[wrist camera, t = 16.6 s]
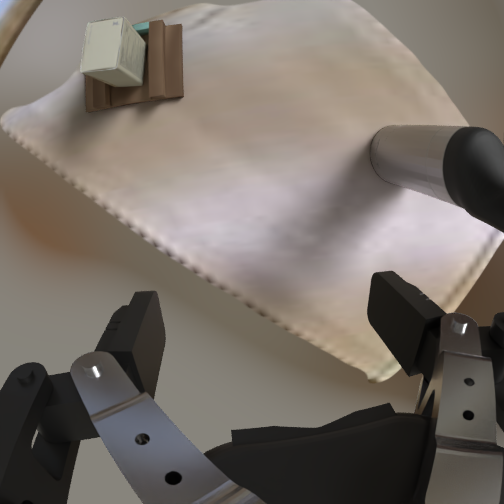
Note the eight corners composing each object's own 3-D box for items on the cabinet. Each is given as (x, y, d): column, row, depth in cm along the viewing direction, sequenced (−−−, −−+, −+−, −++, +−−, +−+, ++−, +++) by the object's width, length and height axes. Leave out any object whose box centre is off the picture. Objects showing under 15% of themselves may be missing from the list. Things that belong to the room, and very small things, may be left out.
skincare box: (119, 47, 32) (86, 20, 21) (149, 45, 33) (125, 14, 22) (114, 89, 35) (77, 73, 23) (144, 87, 35) (116, 68, 24)
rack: (182, 26, 33) (179, 17, 30) (183, 96, 37) (180, 92, 34) (89, 44, 32) (80, 38, 29) (88, 112, 36) (78, 110, 33)
